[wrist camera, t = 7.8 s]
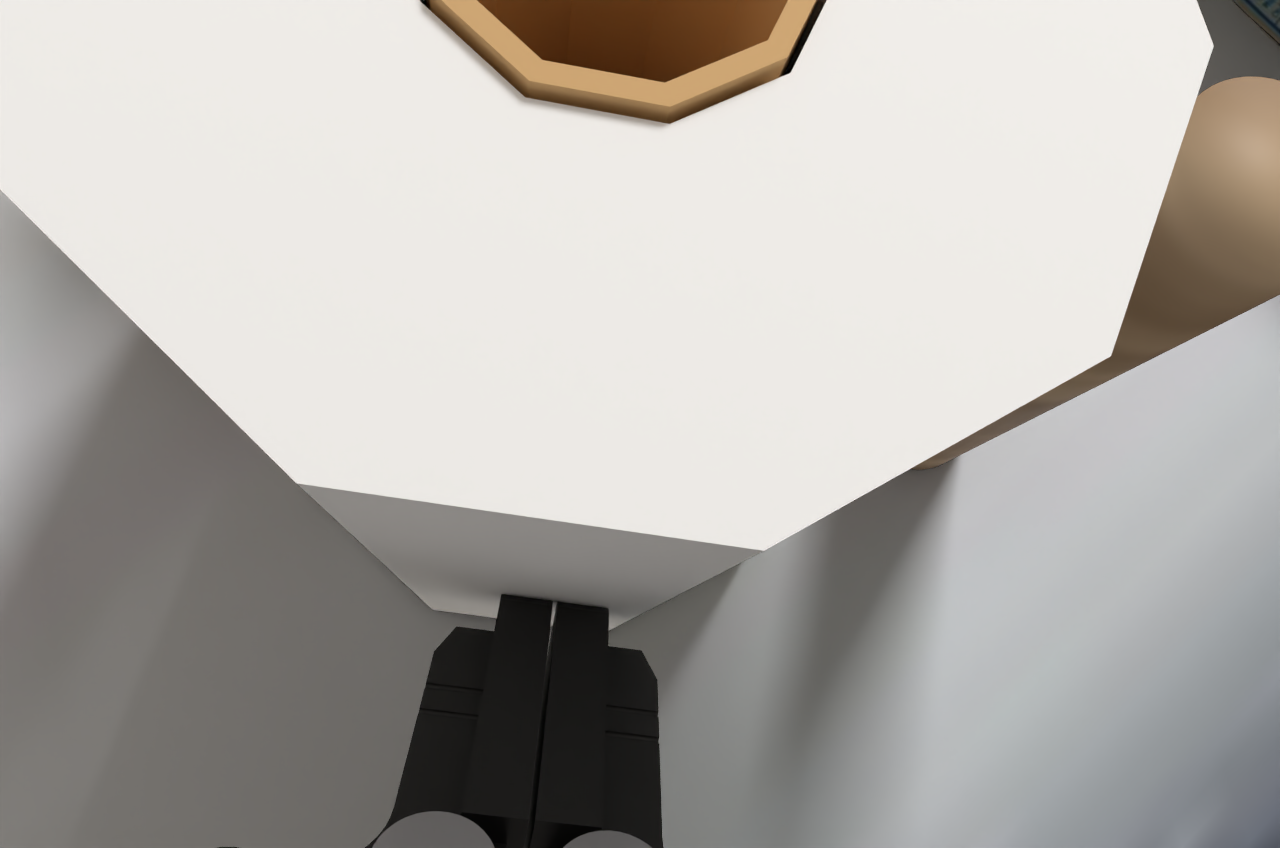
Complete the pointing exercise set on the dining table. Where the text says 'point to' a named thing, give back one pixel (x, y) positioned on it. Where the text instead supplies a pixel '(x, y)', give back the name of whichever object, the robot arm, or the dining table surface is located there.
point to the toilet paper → (602, 248)
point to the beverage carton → (1263, 14)
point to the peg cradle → (1193, 243)
